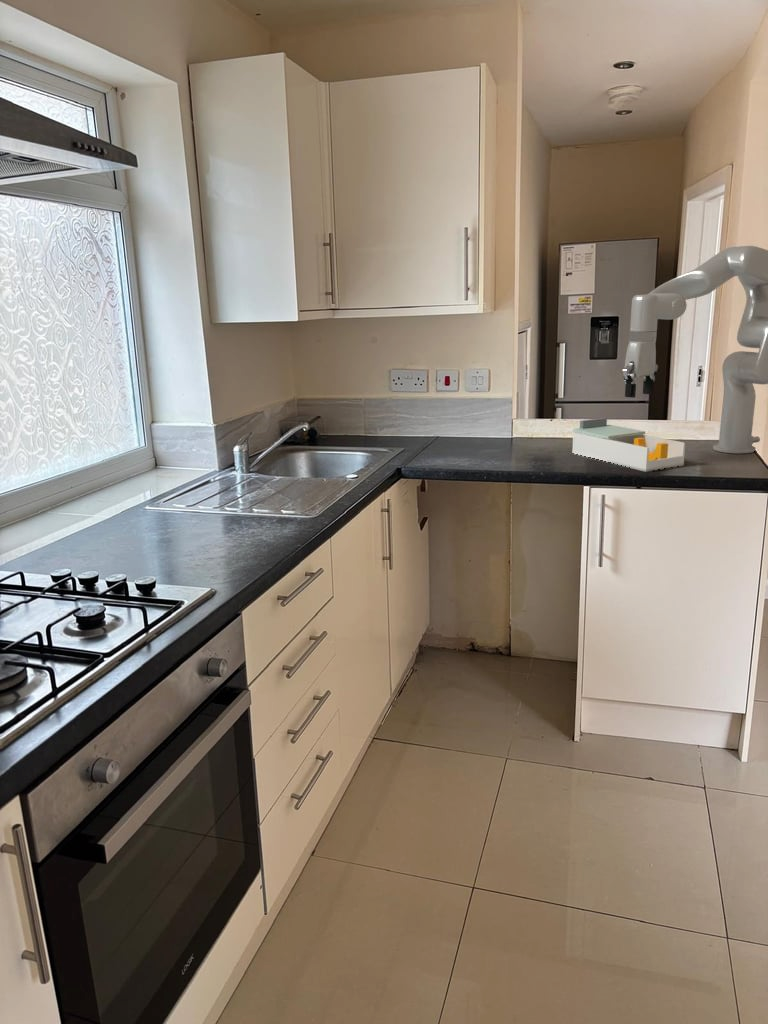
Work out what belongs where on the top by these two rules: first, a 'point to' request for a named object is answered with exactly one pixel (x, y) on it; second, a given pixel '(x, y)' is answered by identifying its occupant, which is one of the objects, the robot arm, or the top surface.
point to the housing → (629, 451)
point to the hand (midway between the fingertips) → (639, 395)
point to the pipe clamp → (660, 449)
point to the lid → (605, 429)
